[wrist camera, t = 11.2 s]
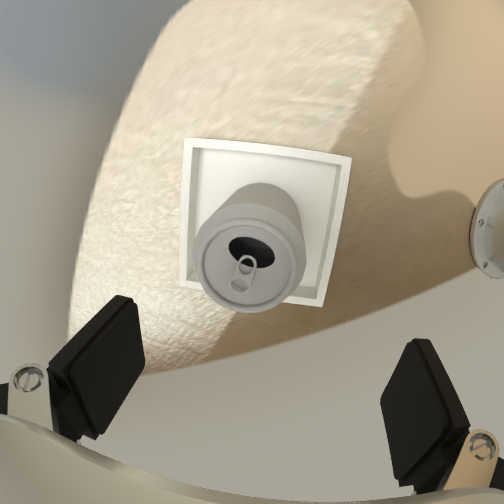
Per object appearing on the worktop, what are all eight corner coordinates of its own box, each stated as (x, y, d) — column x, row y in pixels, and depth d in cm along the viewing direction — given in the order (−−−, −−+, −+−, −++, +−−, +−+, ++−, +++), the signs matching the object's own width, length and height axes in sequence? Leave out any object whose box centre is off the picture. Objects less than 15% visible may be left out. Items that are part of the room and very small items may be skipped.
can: (311, 198, 28) (329, 237, 16) (283, 266, 30) (280, 337, 19) (237, 170, 27) (203, 190, 16) (213, 240, 30) (173, 299, 19)
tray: (345, 156, 26) (352, 157, 23) (319, 292, 32) (322, 307, 29) (194, 138, 27) (184, 137, 24) (187, 273, 33) (178, 286, 30)
